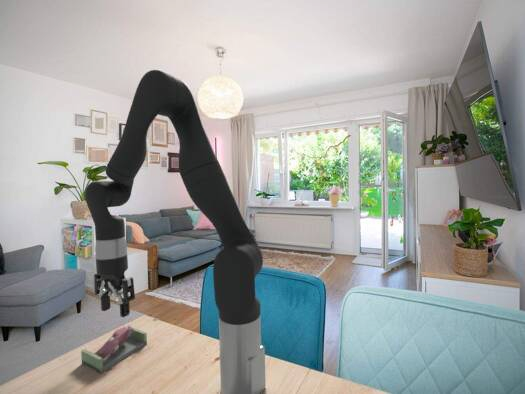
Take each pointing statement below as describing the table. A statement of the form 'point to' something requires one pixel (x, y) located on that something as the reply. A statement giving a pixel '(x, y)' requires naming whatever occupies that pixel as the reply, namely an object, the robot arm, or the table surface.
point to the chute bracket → (131, 345)
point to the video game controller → (115, 342)
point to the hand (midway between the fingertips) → (115, 312)
